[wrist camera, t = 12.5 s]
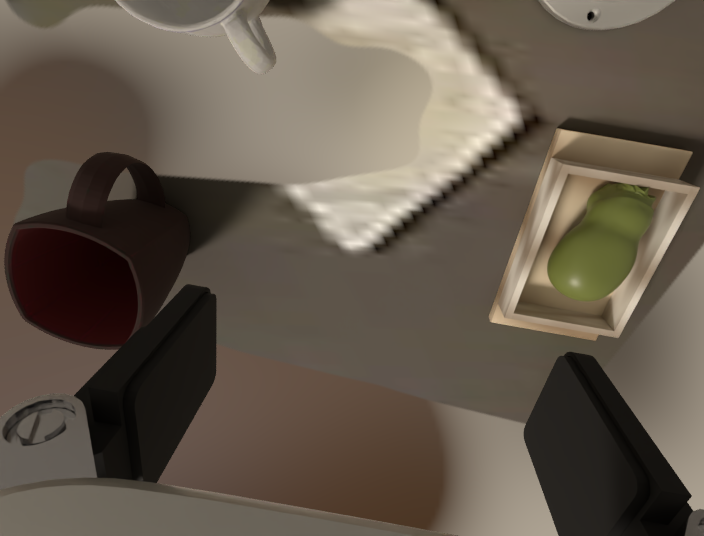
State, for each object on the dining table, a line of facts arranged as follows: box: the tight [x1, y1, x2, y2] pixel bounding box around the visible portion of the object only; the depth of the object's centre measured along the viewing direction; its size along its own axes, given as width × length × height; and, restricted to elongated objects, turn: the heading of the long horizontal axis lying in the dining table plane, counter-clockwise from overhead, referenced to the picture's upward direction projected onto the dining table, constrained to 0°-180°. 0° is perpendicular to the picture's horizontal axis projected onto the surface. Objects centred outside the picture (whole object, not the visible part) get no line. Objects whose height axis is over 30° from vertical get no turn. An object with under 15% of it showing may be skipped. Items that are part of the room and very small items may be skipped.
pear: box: [547, 183, 656, 302], centre depth 33 cm, size 6×5×10 cm
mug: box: [4, 152, 190, 349], centre depth 33 cm, size 10×14×12 cm
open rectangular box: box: [489, 128, 700, 341], centre depth 35 cm, size 18×10×4 cm, turn 171°
